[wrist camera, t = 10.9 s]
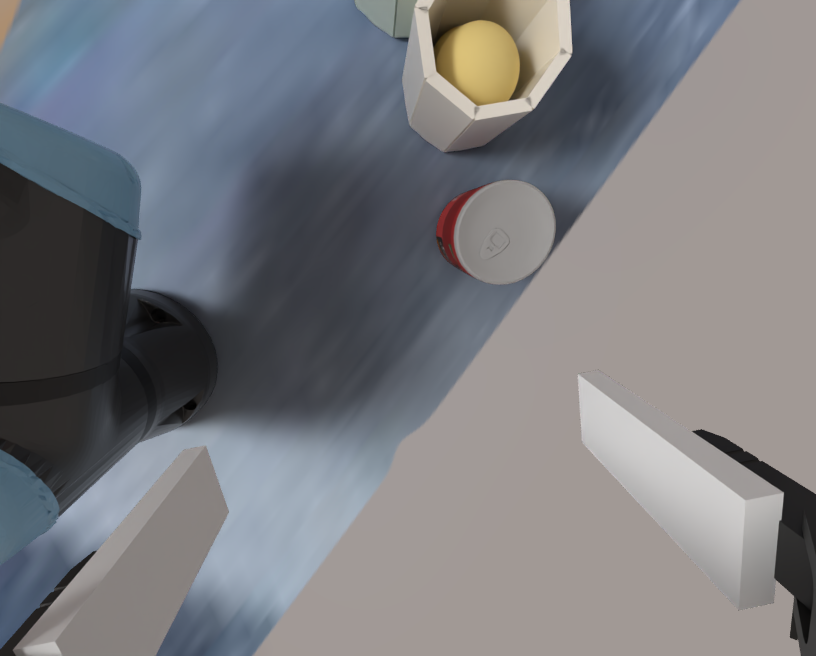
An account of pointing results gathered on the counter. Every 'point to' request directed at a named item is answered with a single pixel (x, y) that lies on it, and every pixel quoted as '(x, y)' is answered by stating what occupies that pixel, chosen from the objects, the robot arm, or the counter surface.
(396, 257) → the counter surface
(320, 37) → the counter surface
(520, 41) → the crock cream
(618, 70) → the counter surface
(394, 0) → the crock sage
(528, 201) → the canned food
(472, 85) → the ball loose
